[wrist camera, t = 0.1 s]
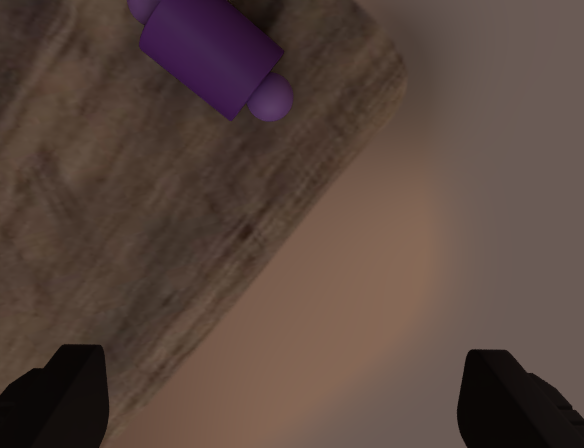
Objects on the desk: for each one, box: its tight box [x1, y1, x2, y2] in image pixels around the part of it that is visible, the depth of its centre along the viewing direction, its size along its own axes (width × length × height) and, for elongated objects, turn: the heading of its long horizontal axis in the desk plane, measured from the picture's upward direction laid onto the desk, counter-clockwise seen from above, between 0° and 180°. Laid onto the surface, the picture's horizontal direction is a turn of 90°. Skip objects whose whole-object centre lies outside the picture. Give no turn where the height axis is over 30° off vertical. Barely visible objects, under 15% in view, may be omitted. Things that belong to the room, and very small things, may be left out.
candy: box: [127, 0, 293, 121], centre depth 21 cm, size 9×4×4 cm, turn 51°
